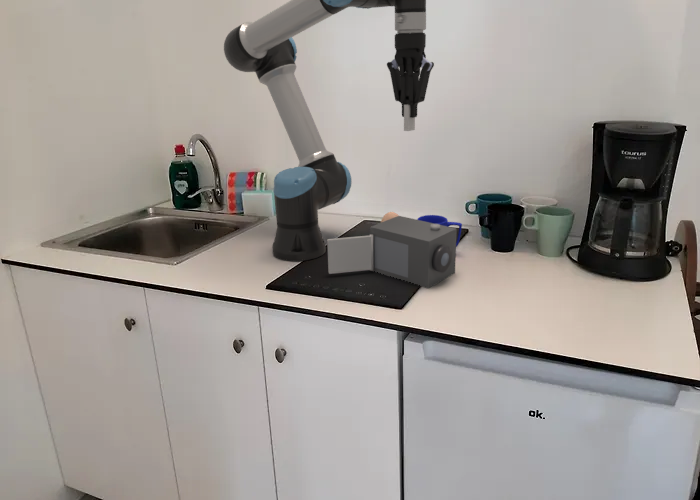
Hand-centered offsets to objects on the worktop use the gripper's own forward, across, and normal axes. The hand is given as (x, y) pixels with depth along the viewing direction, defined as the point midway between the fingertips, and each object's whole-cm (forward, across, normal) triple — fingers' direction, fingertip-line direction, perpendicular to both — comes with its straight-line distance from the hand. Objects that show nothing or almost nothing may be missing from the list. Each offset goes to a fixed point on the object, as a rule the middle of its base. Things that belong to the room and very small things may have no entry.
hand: (409, 130), depth 147 cm
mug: (+35, +6, +6) cm, 36 cm away
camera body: (+34, +8, -9) cm, 36 cm away
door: (+34, -3, -20) cm, 39 cm away
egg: (+35, -13, +9) cm, 38 cm away
